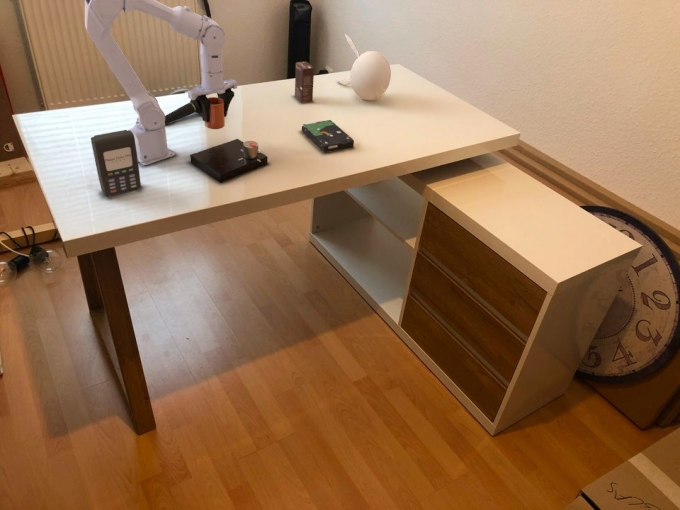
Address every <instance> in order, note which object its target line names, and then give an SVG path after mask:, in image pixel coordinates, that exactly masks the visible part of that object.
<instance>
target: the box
mask: <svg viewBox="0 0 680 510" xmlns="http://www.w3.org/2000/svg"><path fill="white" fill-rule="evenodd" d="M314 77H315V67H313V65H312V64H311V63H309V62H308V61H298V62H297V61H296V62H295V75H294V97H295V98H296V99H297V100H298V101H299V102H300V103H301V104H308V103H312V102H313V98H314V96H313V95H314Z"/></svg>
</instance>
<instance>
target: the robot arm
mask: <svg viewBox="0 0 680 510" xmlns="http://www.w3.org/2000/svg"><path fill="white" fill-rule="evenodd" d="M135 10H136V11H139V12H141V13H144V14H147V15H149V16H152V17H155V18H157V19H160V20H162V21H165V22H167V23H168V25H169V27H170V29H171V30H172V31H174V32H177V33H179V34H181V35H184V36H185V37H188V38H191V39H193V40H196V41H199V45H200V51H199V53H200V73H201V84H199V85H197V86H196V87H194V88H192V89H190V90H187V98H188V99H190V100H191V99H192V100H194V101H195V102H196V104H197V106H198V108H199V110H200V113H201V114H200V116H201V120H202V121H203V122H204V123H205V122H209V109H210V104H211V100H209V99H207V98H208V96H209V95H213V94H216V95H217V97H218V98H221V99H223V100H224V115H225V118H227V115H228V111H229V107H230V104H231V102H232V100H233V99H234V98H235V91H233V90H235V89H238V81H237V80H235V79H232V78H231V79H227V80H225V72H224V68H225V67H224V48H223V46H224V45H225V44H226V41H227V36H226V34H225V31H224V30H223V28H222V27H221V26H220V25H219V24H218V23H217V21H215V20H214V19H212V18H211V17H210V16H209V17H208V16H207V15H205V14H204V15H203V16H202V15H200V14H198V13H196V12H194V11H192V9H191V8H190V7H189V6H187V5H184V6H181V5H176V6H174V7H170V6H168V5H166V4H164V3H162V2H160V1H158V0H84V28H85V31H86V32H87V35H88V36H89V38H90V40H91V41H92V43H93V44H94V45H95V47H96V49H97V50H98V52H99V53H100V55H101V56H102V57H103V60H104V62H106V64H107V66H108V67H109V69H110V70H111V72H112V73H113V75H114V76H115V78H116V80H117V81H118V82H119V83H120V85H121V87H122V89H123V90H124V92H125V93H126V95H127V96H128V98H129V99H130V101H131V102H132V107H133V109H134V111H135V112H136V113H135V114H137V118H136V121H135V125H134V126H133V127H132V128H129V129H128V130H130V131H131V132H132V133H133V134H134V138H135V144H136V151H137V159H138V163H140V164H141V165H143V166H148V165H151V164H154V163H157V162H160V161H163V160H166V159H169V158H172V157H174V156H175V155H176V154H175V153H174V152H173V151H171V150H170V149H169V147H168V140H167V131H166V125H165V116H166V114H165V112H164V110H163V109H162V108H161V106H160V103H159V102H158V99H157V98H156V96H155V95H153V94H151V93H150V92H149V91H148V90H147V89H146V87H145V85H144V84H143V83H142V80H141V79H140V78H139V76H138V74H137V73H136V71H135V70H134V68H133V66H132V65H131V64H130V61H129V60H128V58H127V57H126V55H125V54H124V52H123V51H122V49H121V46H119V44H118V43H117V40H116V39H115V37H114V35H113V34H112V33H111V29H112V26H113V23H114V22H115V20H116V19H117V17H118V16H120V14H121V13H122V11H123V12H124V13H125V14H128V13H131V12H133V11H135ZM232 89H233V90H232Z"/></svg>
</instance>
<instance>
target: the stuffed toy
mask: <svg viewBox="0 0 680 510" xmlns="http://www.w3.org/2000/svg"><path fill="white" fill-rule="evenodd" d="M344 36H345V40H346V42H347V43H348V45H349V47H350V48H351V51H352V52H353V54H354V55H355V56H356V57H357V58H356V59H355V60H354V62H353V64H352V66H351V70H350V78H347V79H343V80H341V81H340V82H339V84H341V85H343V86H350V85H351V88H352V90H353V92H354V93H355V95H356V96H357V97H358V98H360V99H362V100H364V101H374V100H377V99H379V98H380V97H382V96H383V95H384V94H385V93H386V91H387V90H388V88H389V85H390V82H391V78H392V77H391V76H392V69H391V66H390V63H389V60H388V59H387V57H386V56H385V55H384V54H382V53H381V52H379V51H376V50H368V51H364V52H363V53H361V54H360V53H359V51H358V48H357V47H356V45H355V43H354V41H353V40H352V38H351V37H350V36H349V35H348V34H346V33H345V34H344Z"/></svg>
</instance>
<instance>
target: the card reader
mask: <svg viewBox="0 0 680 510" xmlns="http://www.w3.org/2000/svg"><path fill="white" fill-rule="evenodd" d="M90 142H91V143H90V144H91V147H92V153H93V158H94V163H95V168H96V172H97V176H98V177H97V178H98V181H99V185H100V189H101V192H102V194H103V196H104V197H112V196H117V195H122V194H124V193H129V192H132V191H137V190H139V189H140V188H142V185H141V184H142V183H141V176H140V166H139V162H138V159H137V151H136V144H135V138H134V134H133V133H132V132H131V131H130V130H129V129H128V130H127V129H123V130H117V131H112V132H106V133H101V134H95V135H94V136H91V137H90Z"/></svg>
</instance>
